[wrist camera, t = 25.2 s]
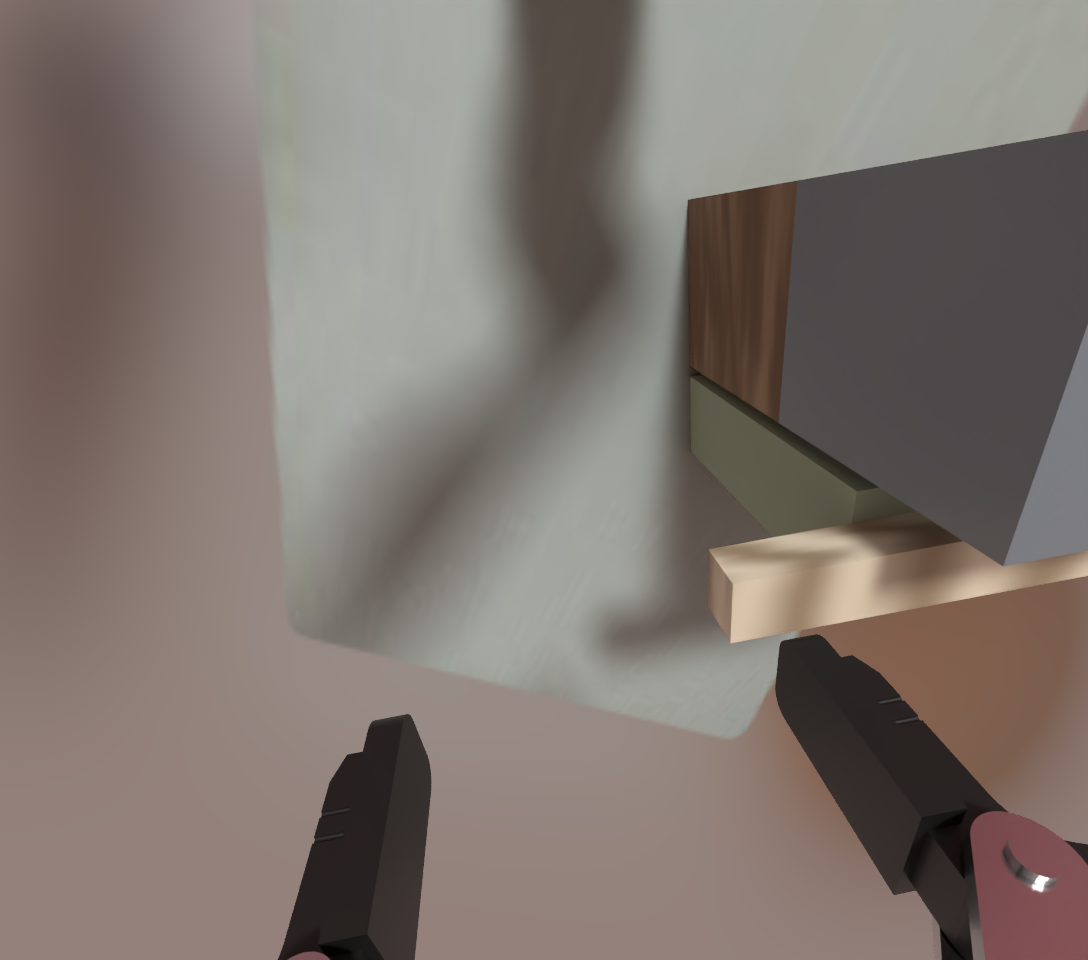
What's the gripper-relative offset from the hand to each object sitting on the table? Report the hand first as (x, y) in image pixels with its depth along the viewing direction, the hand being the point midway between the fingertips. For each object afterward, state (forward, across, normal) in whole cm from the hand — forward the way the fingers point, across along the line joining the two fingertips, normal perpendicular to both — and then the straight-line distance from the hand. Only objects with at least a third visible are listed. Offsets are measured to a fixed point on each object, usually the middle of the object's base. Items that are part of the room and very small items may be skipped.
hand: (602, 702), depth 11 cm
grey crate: (+22, +23, +2) cm, 32 cm away
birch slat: (+14, +18, -10) cm, 25 cm away
